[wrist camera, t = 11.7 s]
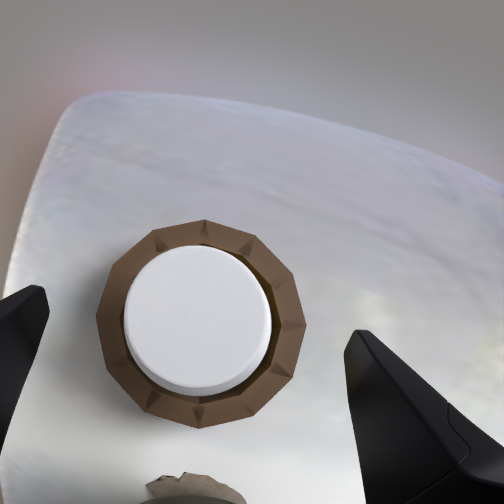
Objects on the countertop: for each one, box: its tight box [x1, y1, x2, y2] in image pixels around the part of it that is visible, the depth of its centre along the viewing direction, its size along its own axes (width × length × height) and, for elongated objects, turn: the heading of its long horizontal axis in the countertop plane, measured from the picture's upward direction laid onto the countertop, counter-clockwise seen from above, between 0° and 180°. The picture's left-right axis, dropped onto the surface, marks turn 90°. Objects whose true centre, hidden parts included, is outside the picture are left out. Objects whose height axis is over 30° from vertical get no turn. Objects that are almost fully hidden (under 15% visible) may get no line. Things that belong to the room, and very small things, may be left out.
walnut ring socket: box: [96, 220, 306, 429], centre depth 16 cm, size 10×10×3 cm
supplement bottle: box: [124, 246, 271, 396], centre depth 13 cm, size 5×5×10 cm
